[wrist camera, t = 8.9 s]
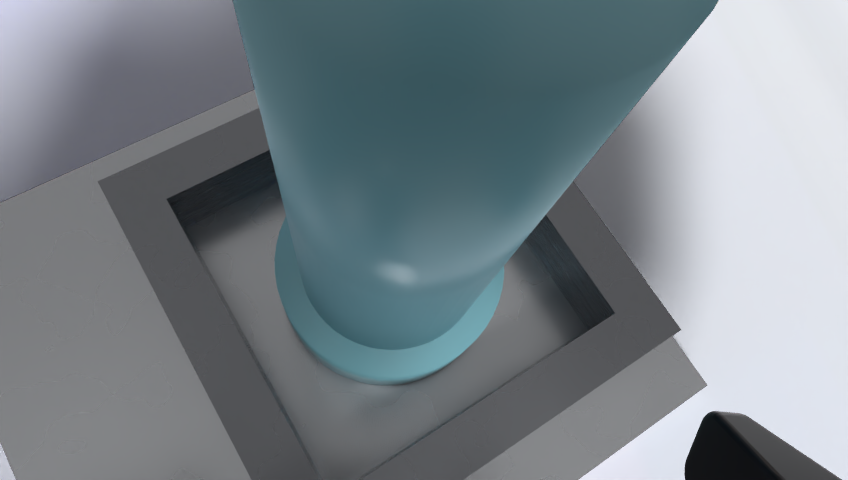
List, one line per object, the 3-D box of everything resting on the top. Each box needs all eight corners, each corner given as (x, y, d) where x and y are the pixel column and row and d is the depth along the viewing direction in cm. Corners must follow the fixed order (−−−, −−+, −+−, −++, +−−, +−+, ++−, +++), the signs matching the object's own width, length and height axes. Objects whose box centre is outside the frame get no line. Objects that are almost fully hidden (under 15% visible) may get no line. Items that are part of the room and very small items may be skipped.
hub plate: (162, 771, 14) (116, 847, 11) (-62, 253, 17) (-142, 212, 14) (689, 389, 18) (750, 375, 16) (432, 28, 22) (444, -38, 19)
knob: (348, 428, 16) (356, 324, 4) (245, 244, 17) (-8, -293, 5) (526, 316, 18) (955, -22, 5) (419, 155, 19) (561, -431, 6)
